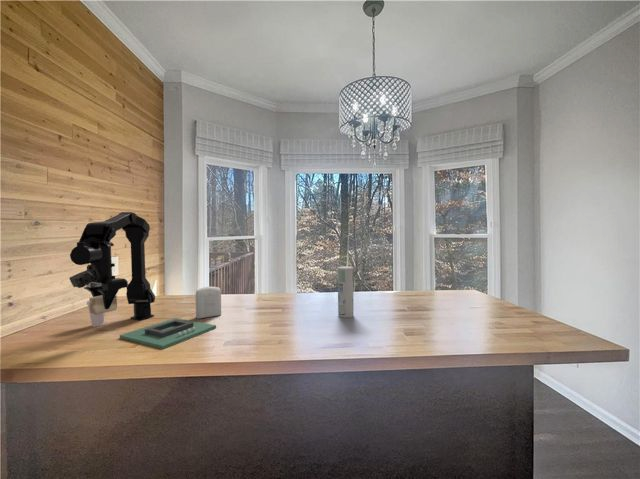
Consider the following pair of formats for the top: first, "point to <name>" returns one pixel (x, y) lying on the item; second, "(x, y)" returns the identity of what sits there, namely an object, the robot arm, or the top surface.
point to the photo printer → (208, 302)
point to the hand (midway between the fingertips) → (103, 308)
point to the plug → (100, 305)
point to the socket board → (168, 332)
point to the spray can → (345, 291)
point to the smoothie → (96, 318)
